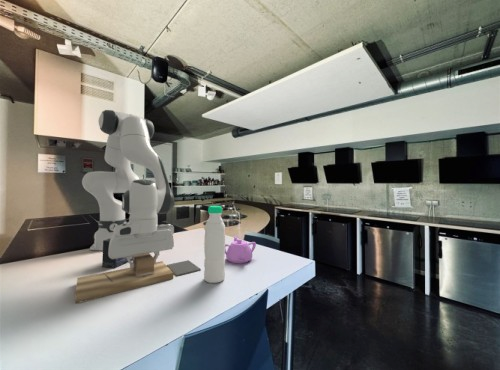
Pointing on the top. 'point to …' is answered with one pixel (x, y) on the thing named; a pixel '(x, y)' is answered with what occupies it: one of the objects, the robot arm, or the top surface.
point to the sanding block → (143, 264)
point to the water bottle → (214, 246)
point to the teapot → (239, 251)
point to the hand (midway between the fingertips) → (143, 266)
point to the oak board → (118, 282)
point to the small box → (107, 260)
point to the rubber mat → (183, 268)
